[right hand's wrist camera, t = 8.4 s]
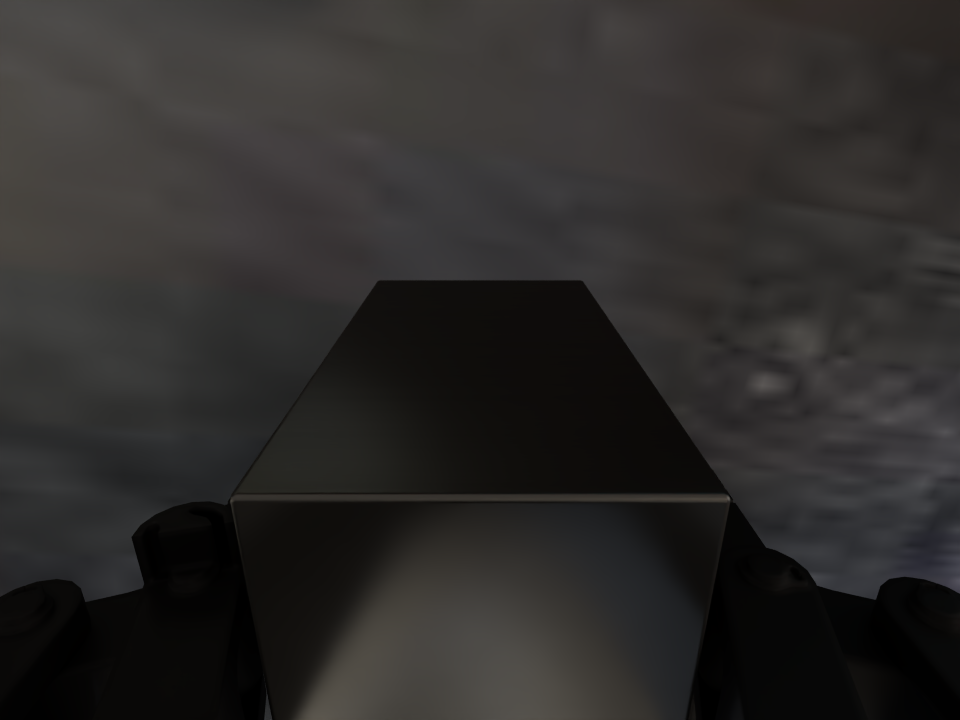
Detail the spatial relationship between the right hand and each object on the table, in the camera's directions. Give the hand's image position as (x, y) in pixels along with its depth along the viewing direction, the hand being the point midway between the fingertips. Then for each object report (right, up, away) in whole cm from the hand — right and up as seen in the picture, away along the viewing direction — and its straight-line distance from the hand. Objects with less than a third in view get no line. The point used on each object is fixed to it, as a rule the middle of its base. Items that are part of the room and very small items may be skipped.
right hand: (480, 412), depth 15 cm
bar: (0, -9, +4) cm, 10 cm away
